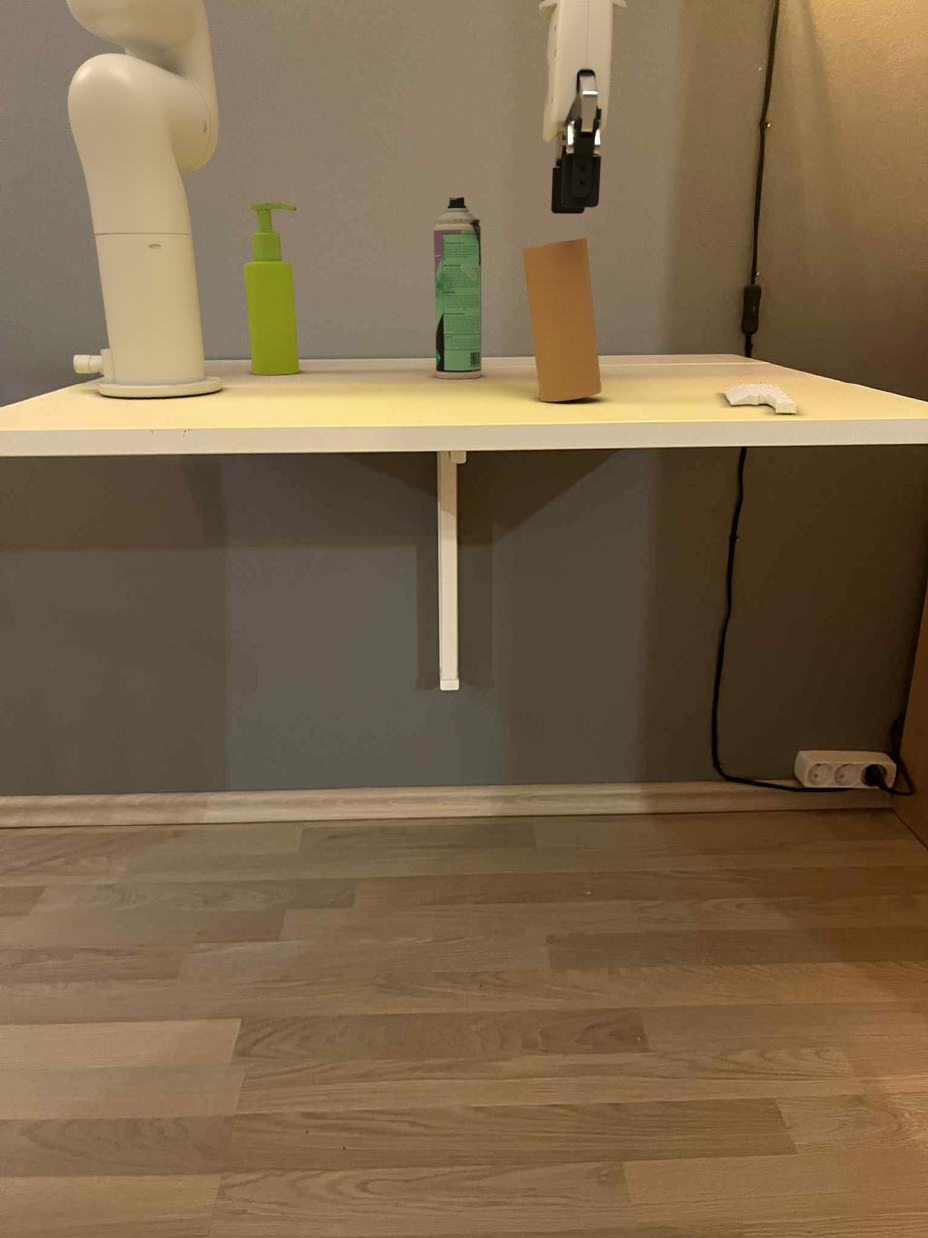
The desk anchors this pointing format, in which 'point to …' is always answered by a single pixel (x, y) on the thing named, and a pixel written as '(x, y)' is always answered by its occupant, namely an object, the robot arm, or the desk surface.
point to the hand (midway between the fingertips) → (573, 210)
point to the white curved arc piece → (761, 396)
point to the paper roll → (562, 320)
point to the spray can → (457, 292)
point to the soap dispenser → (270, 300)
